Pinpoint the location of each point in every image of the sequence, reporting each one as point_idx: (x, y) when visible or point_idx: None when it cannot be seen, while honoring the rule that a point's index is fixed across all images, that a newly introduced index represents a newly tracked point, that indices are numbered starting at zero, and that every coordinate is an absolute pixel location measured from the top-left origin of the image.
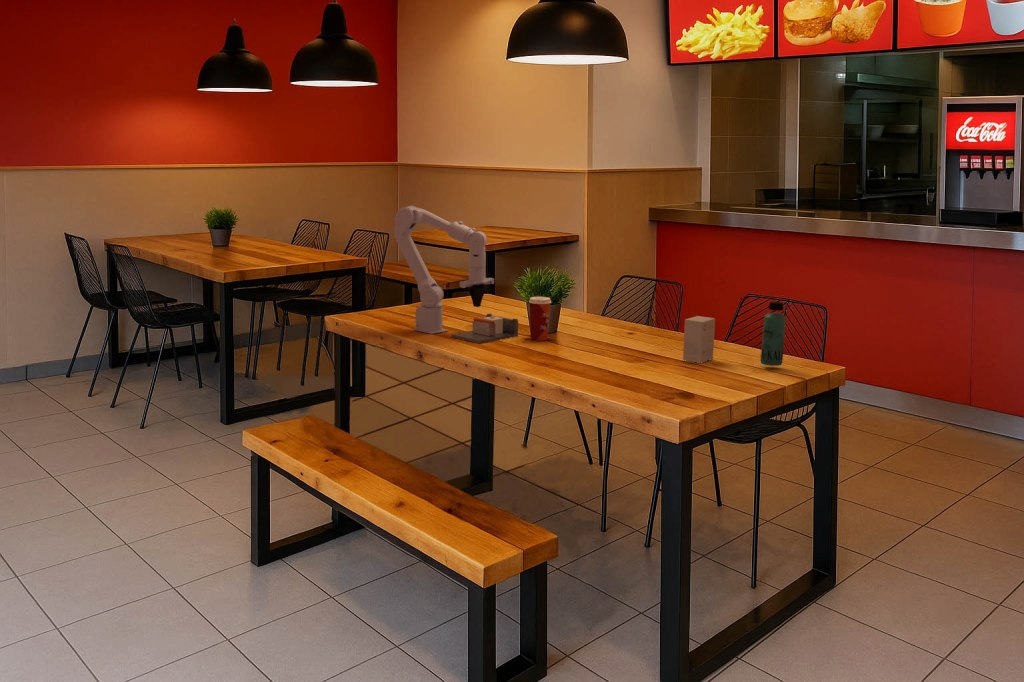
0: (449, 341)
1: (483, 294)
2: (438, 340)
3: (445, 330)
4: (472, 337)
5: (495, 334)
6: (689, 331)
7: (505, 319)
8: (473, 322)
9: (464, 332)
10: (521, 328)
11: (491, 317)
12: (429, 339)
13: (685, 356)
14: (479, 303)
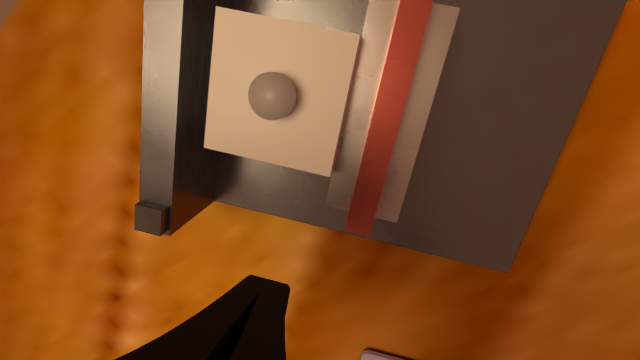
0: (630, 211)
1: (136, 357)
2: (630, 279)
3: (383, 357)
4: (537, 106)
5: (346, 29)
6: None
7: (185, 4)
8: (399, 209)
9: (407, 237)
10: (27, 61)
11: (295, 92)
12: (624, 332)
13: None
14: (259, 296)
